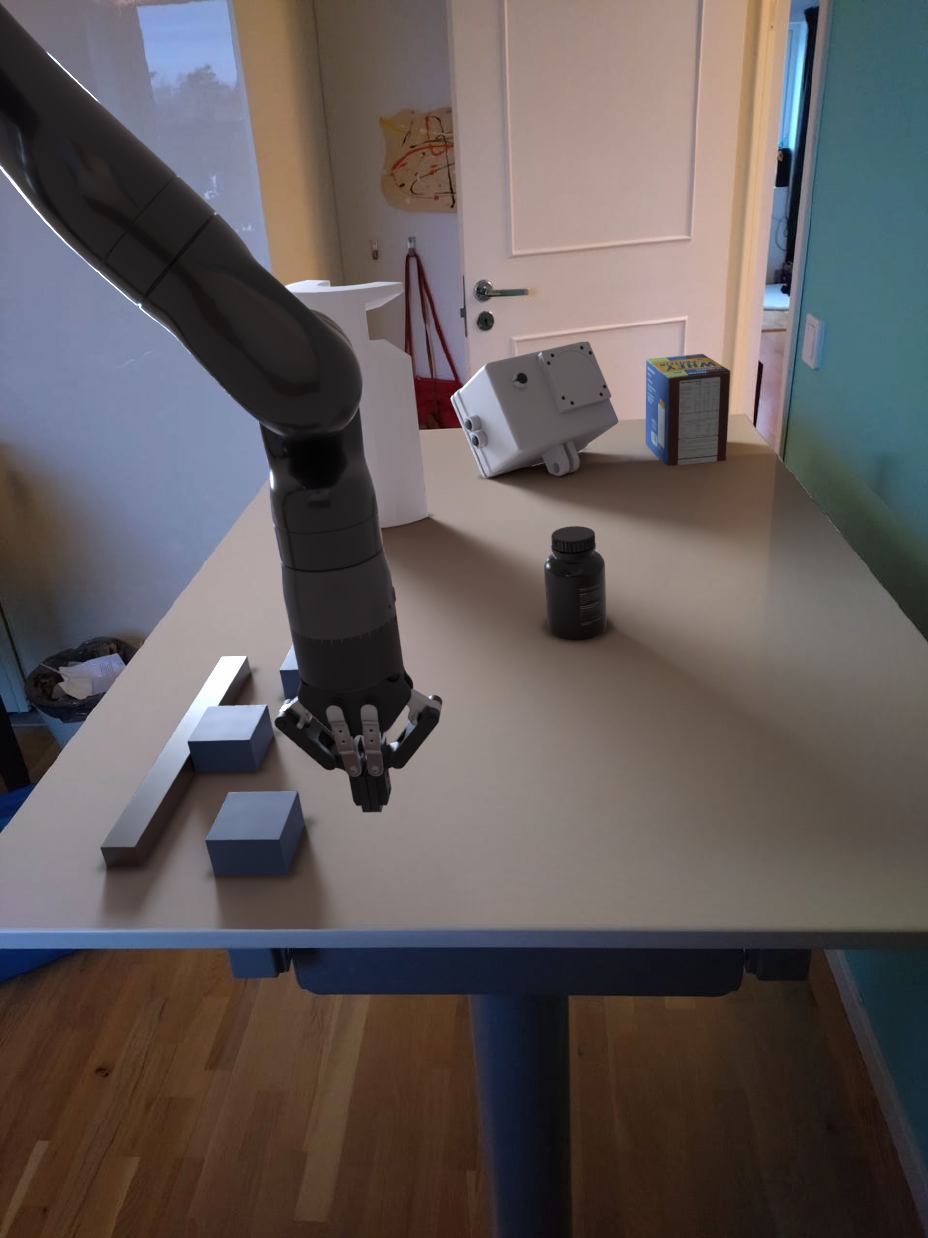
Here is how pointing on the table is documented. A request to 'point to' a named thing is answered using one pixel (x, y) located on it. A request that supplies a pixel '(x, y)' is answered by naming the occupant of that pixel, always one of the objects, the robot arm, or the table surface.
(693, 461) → the protein box
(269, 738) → the middle block
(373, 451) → the white tall curved block
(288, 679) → the far block
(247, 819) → the near block
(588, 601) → the supplement bottle
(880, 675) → the table surface
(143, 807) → the straightedge
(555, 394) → the junction box
